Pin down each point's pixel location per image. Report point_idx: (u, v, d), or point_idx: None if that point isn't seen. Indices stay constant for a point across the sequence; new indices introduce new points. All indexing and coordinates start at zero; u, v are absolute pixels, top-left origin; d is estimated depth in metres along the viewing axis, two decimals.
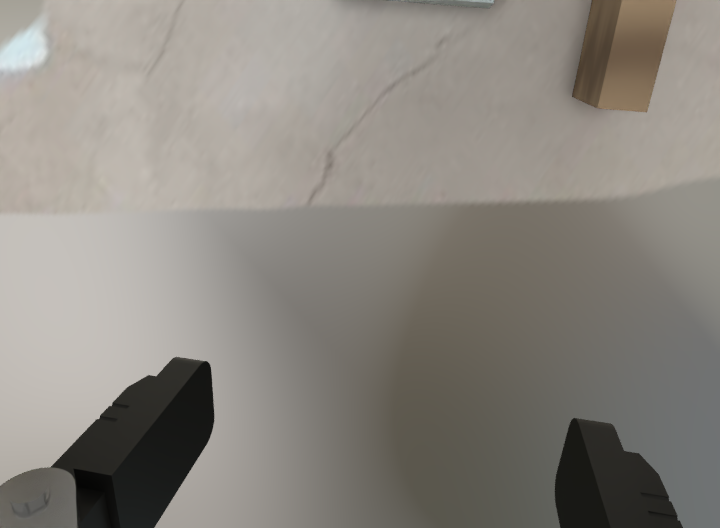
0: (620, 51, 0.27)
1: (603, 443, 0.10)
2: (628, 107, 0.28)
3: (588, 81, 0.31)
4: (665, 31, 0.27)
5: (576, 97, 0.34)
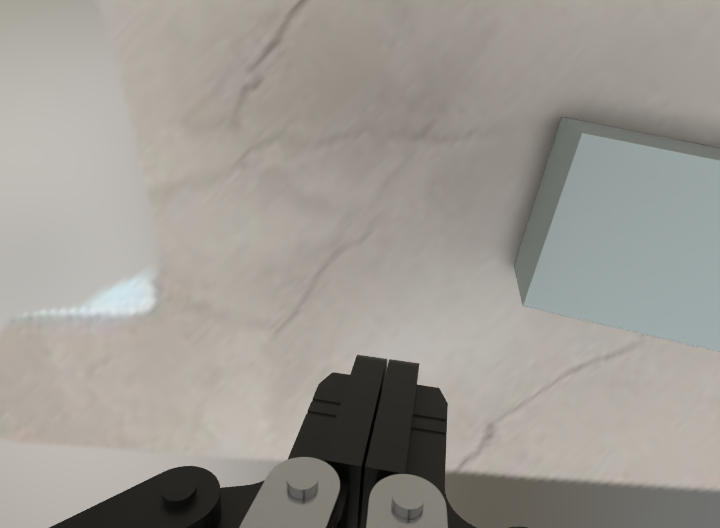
0: None
1: (402, 377, 0.11)
2: None
3: None
4: None
5: None
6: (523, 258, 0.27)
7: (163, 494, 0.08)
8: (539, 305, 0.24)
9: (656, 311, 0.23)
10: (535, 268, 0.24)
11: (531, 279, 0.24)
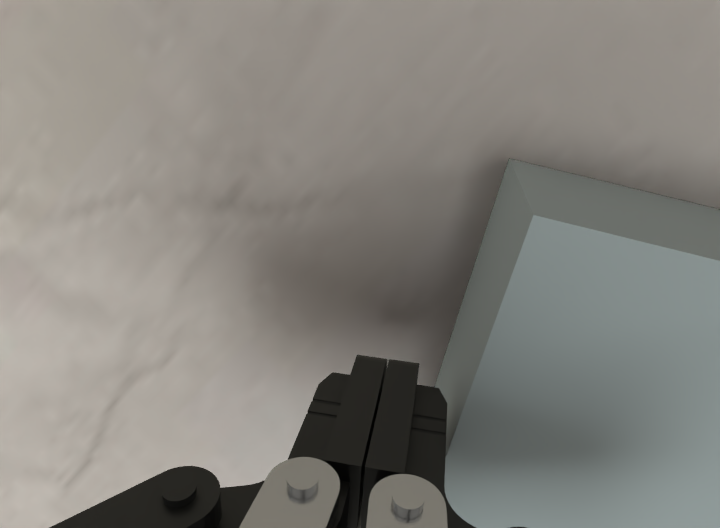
0: None
1: (402, 377, 0.11)
2: None
3: None
4: None
5: None
6: None
7: (163, 494, 0.08)
8: None
9: None
10: None
11: None
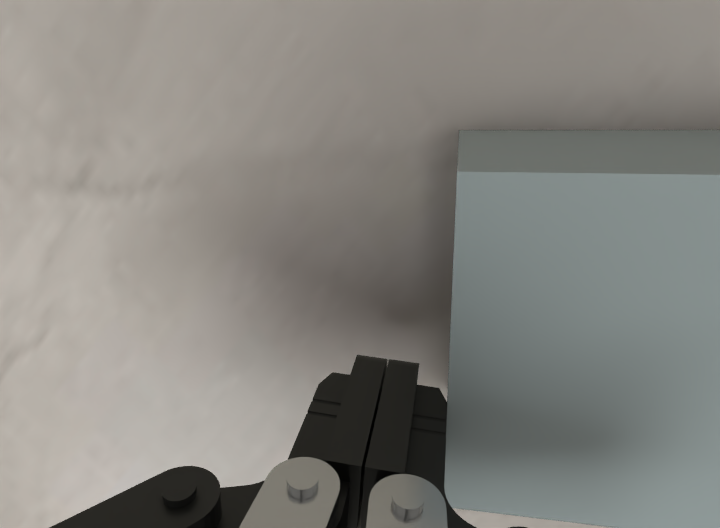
0: None
1: (401, 377, 0.11)
2: None
3: None
4: None
5: None
6: None
7: (163, 494, 0.08)
8: (473, 503, 0.12)
9: (713, 496, 0.11)
10: (446, 439, 0.12)
11: None
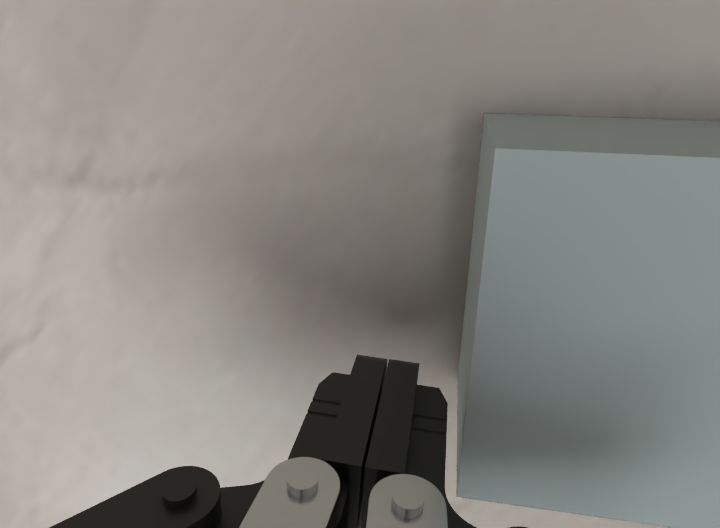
0: None
1: (402, 377, 0.11)
2: None
3: None
4: None
5: None
6: (461, 377, 0.15)
7: (163, 494, 0.08)
8: (488, 494, 0.12)
9: None
10: (464, 427, 0.12)
11: (461, 447, 0.12)
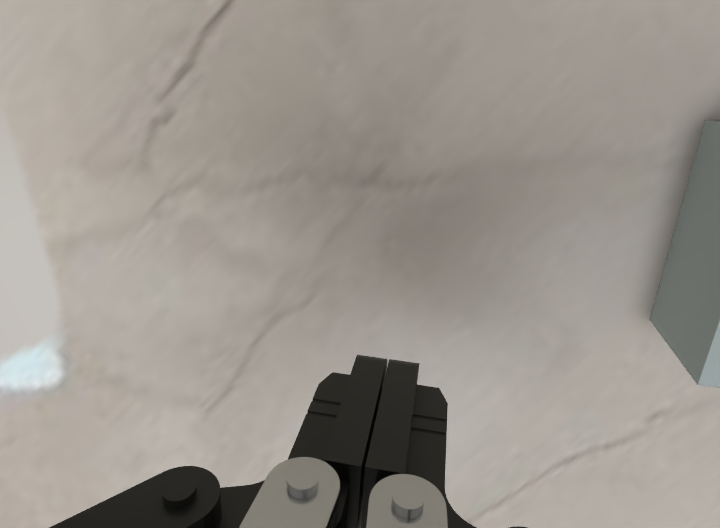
0: None
1: (402, 377, 0.11)
2: None
3: None
4: None
5: None
6: (672, 312, 0.20)
7: (163, 494, 0.08)
8: None
9: None
10: (713, 332, 0.17)
11: (708, 348, 0.17)
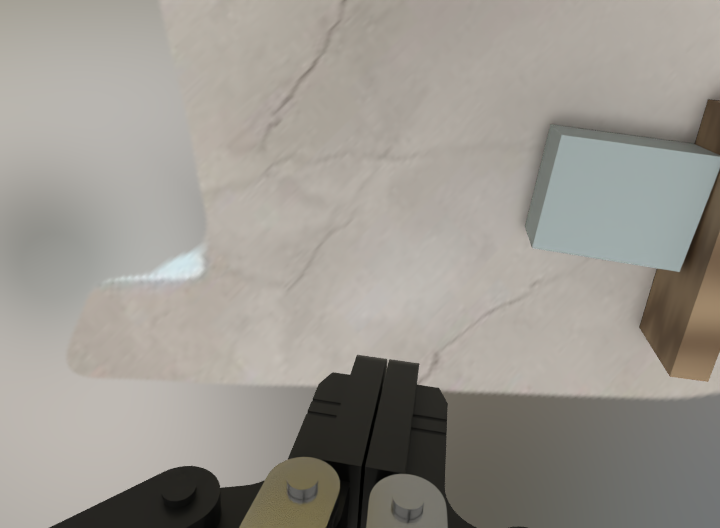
0: (689, 342, 0.36)
1: (402, 377, 0.11)
2: (693, 377, 0.37)
3: (658, 337, 0.40)
4: None
5: (644, 334, 0.42)
6: (530, 219, 0.40)
7: (163, 494, 0.08)
8: (542, 246, 0.38)
9: (618, 245, 0.37)
10: (538, 222, 0.37)
11: (536, 229, 0.37)
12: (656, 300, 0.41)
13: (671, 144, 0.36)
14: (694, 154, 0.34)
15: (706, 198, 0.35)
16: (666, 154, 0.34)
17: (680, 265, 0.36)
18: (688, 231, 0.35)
